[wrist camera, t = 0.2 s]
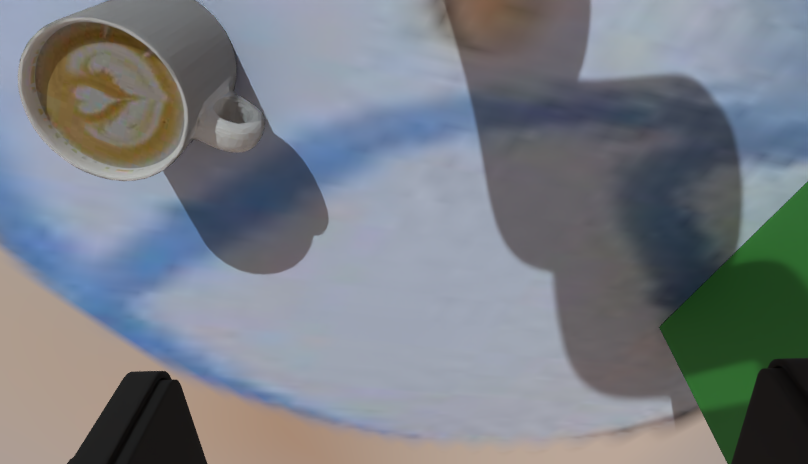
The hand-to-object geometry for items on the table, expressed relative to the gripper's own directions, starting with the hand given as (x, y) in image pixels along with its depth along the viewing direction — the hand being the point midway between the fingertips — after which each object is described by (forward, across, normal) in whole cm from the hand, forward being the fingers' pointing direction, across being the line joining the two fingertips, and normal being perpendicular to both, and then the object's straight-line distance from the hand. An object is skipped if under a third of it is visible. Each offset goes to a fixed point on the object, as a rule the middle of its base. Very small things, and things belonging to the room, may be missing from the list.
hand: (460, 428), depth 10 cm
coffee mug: (+37, +19, +3) cm, 41 cm away
